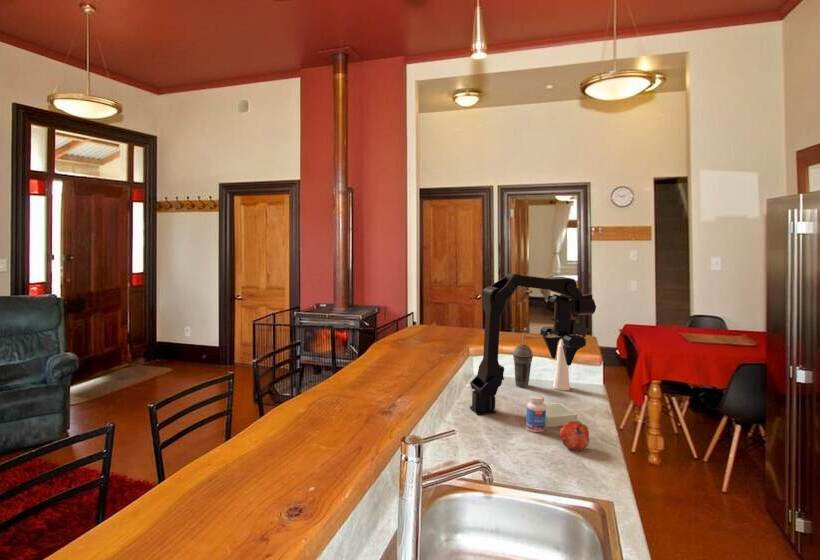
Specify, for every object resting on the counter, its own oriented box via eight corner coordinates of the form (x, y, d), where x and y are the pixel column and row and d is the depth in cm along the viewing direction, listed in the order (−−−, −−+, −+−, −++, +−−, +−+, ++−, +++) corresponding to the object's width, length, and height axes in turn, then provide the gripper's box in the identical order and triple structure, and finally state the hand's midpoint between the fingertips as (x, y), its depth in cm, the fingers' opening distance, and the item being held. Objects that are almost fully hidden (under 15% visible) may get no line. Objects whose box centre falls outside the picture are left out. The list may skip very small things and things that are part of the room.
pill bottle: (534, 433, 140) (535, 400, 139) (522, 427, 145) (523, 395, 144) (549, 430, 143) (550, 397, 142) (536, 423, 147) (537, 392, 146)
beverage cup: (512, 388, 181) (514, 334, 179) (511, 382, 188) (513, 330, 186) (532, 389, 179) (534, 335, 177) (531, 383, 186) (533, 331, 184)
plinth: (547, 427, 145) (547, 417, 145) (530, 414, 154) (530, 405, 154) (576, 423, 148) (577, 414, 147) (558, 412, 157) (558, 402, 157)
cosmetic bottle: (549, 385, 184) (552, 328, 181) (564, 384, 185) (566, 327, 183) (558, 391, 178) (561, 331, 176) (573, 390, 179) (576, 330, 177)
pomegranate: (556, 451, 134) (561, 441, 126) (558, 424, 138) (564, 414, 130) (584, 456, 133) (592, 448, 124) (585, 430, 136) (593, 419, 128)
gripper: (602, 319, 155) (599, 368, 156) (569, 310, 173) (567, 353, 174) (570, 320, 152) (568, 370, 153) (540, 310, 170) (538, 355, 171)
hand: (561, 361), depth 163 cm, fingers open, 9 cm apart
